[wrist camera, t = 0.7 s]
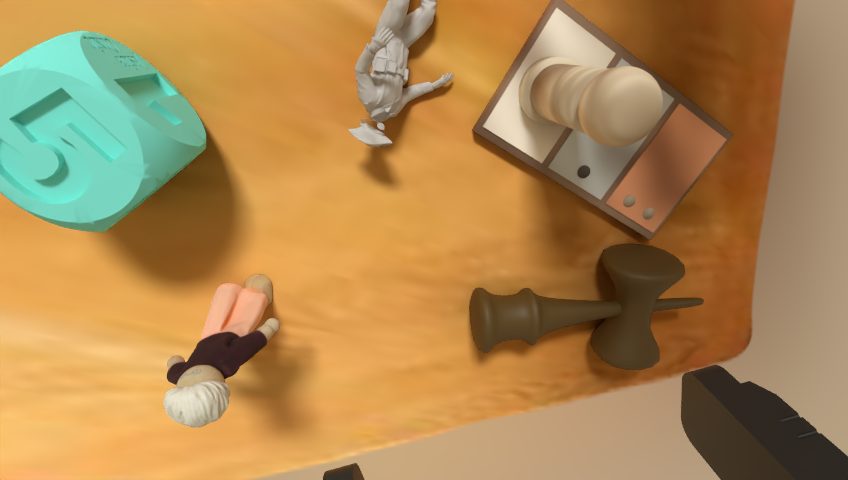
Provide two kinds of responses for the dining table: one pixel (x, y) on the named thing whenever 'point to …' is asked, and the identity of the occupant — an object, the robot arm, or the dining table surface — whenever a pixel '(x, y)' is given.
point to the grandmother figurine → (220, 352)
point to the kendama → (591, 309)
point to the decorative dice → (90, 131)
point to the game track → (595, 163)
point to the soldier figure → (391, 67)
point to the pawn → (592, 99)
